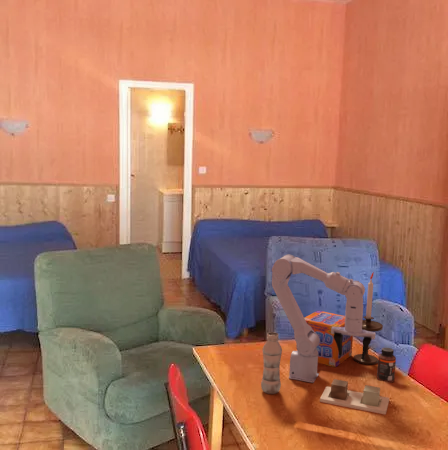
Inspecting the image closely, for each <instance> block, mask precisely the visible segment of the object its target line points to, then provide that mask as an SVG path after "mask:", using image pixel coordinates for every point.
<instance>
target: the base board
mask: <svg viewBox="0 0 448 450" xmlns="http://www.w3.org/2000/svg"><path fill="white" fill-rule="evenodd" d="M330 397H331V386H325V388H324V390H323V392H322V394H321V396H320V398H319V402H320V403H323V404H329V405H335V406H340V407H344V408H345V407H346V408H350V409H355V410H361V411H365V412H369V413H370V412H372V413H375V414H376V413H377V414H382V415H386V414H387V411H388V407H389V403H390V397H387V396H381V395H380V397H379V405H378V407H376V406H371V405H366V404H363V392H360V391H355V390H354V391H353V390H349V389H347V398H346V400H340V399H335V398H330Z"/></svg>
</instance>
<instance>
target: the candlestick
mask: <svg viewBox="0 0 448 450" xmlns="http://www.w3.org/2000/svg"><path fill="white" fill-rule="evenodd" d="M373 277H374V271H372V273H371V275H370V277H369V279H370V280H369V282H367V283H368V284H367V296H366V297H367V298H366V311H365V313H366V314H365V315H363V318H362V330H366V331H370V332H375V333H376V332H380V331H381V332H382V330H383V327H384V326H383V324H382V323H381V322H378V321H374V319H375V317H374V316H372V307H373V293H374V283H373ZM371 343H372V342H370V344H371ZM370 344H369V345H368V347H367V350H366V353H365V358H364V359H362V353H357V354H355V355H353V361H354V362H356V363H357V364H360V365H364V366H373V365H378V357H376V356H374V355H372V354H369V350H370V348H371V347H370Z"/></svg>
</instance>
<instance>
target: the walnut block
mask: <svg viewBox="0 0 448 450" xmlns="http://www.w3.org/2000/svg"><path fill="white" fill-rule="evenodd" d="M348 386H349V381H347V380H342V379H336V378H334V379H333V380H332V382H331V384H330V387H331V397H330V398H335V399H340V400H346V398H347V390H349V389H348Z"/></svg>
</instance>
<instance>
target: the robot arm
mask: <svg viewBox="0 0 448 450" xmlns="http://www.w3.org/2000/svg"><path fill="white" fill-rule="evenodd" d="M271 272H272V273H271V274H272V275H271V286H272V288H273V291H274V293H275V294H276V297H277V300H278V302H279V304H280V305H281V307H282V309H283V311H284V314H285V315H286V318H287V319H288V321H289V324H290V325H291V328H292V329H293V333H294V334H293V335H294V337H293V338H294V340H295V344H296V345H295V346H296V347H295V348H296V350H292V352H291V354H290V359H289V374H288V379H291V380H296V381H301V382H305V383H312V384H314V383H315V381H316V380H317V378H318V376H319V373H318V365H319V363H318V351H317V348H316V347H317V346H318V345H319V343H320V338H319V336H318V335H317V334H316V333H315V332H314V331H313V330H312V328H311V326H309V325H308V324H307V323H306V320H305V318H304V315H303V312H302V310H301V308H300V306H299V305H298V302H297V301H296V298H295V296H294V295H293V292H292V290H291V288H290V286H289V284H288V283H289V281H290V279H291V275H298V274H303V275H307V276H309V277H311V278H314V279H316V280H318V281H320V282H323V283H324V286H325V288H326V289H330V290H332V291H334V292H336V293H338V294H340V295H342V296H345V298H346V302H345V312H344V313H345V314H344V316H345V327H332V328H331V334H334V339H335V342H336V344H337V347H338V351H339V355H340V356H341V355H342V340H343V335H350V336H353V337H356V338H357V337H358V338H363V339H362V353H361V354H362V359H364V358H365V353H366V350H367V347H368V345H369V346H370V344H371V343H372V342H371V341H372V340H375V339H376V331H375V332H371V331H366V330H362V320H363V319H364V318H363V317H364V315H363V314H364V294H365V290H366V288H365V285H364V284H363V283H362V282H360V281H359V280H354V279H353V278H347V277H345V276H343V275H341V272H339V271H336V272H335V271H332V272H326V271H324V270H322V269H321V268H320V267H319V268H318V267H317V266H315V265H313V264H311V263H309V262H308V261H306V260H303V259H302V258H300V257H297V256H295V255H292V254H289V253H288V254H285V255H283V256H282V257H281V258H278V259H276V260H275V261H274V263H273V265H272V267H271ZM370 342H371V343H370Z"/></svg>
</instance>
